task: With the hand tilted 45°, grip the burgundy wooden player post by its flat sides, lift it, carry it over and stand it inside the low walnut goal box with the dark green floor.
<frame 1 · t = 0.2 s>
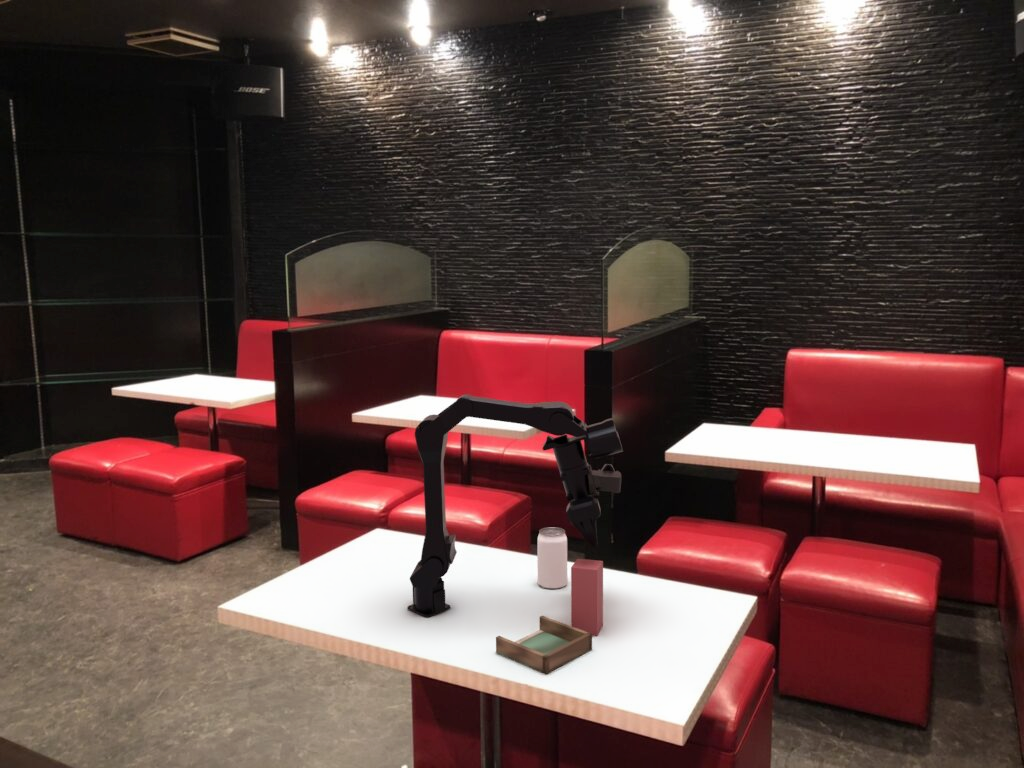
hand: (594, 538, 167), 15 cm above the table, tool tilted 15°, fingers open, 9 cm apart
goal box: (544, 651, 153), on the table
player post: (587, 629, 162), on the table
can: (552, 584, 185), on the table
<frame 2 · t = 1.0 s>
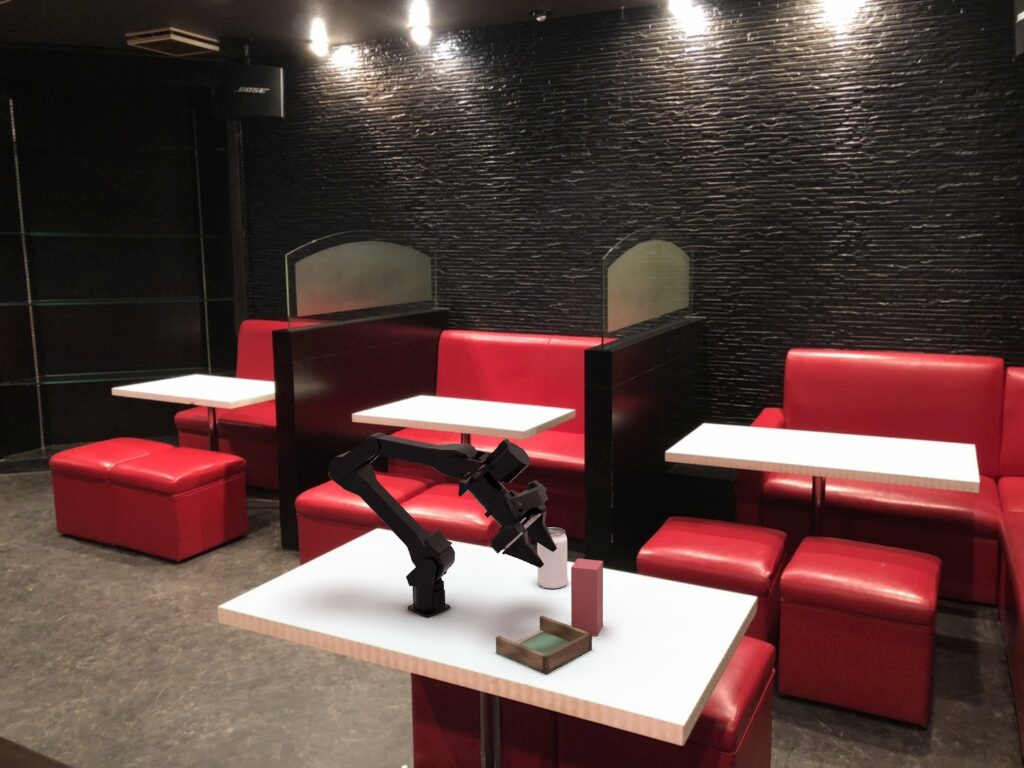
hand: (548, 558, 162), 13 cm above the table, tool tilted 45°, fingers open, 9 cm apart
nothing on the table moved.
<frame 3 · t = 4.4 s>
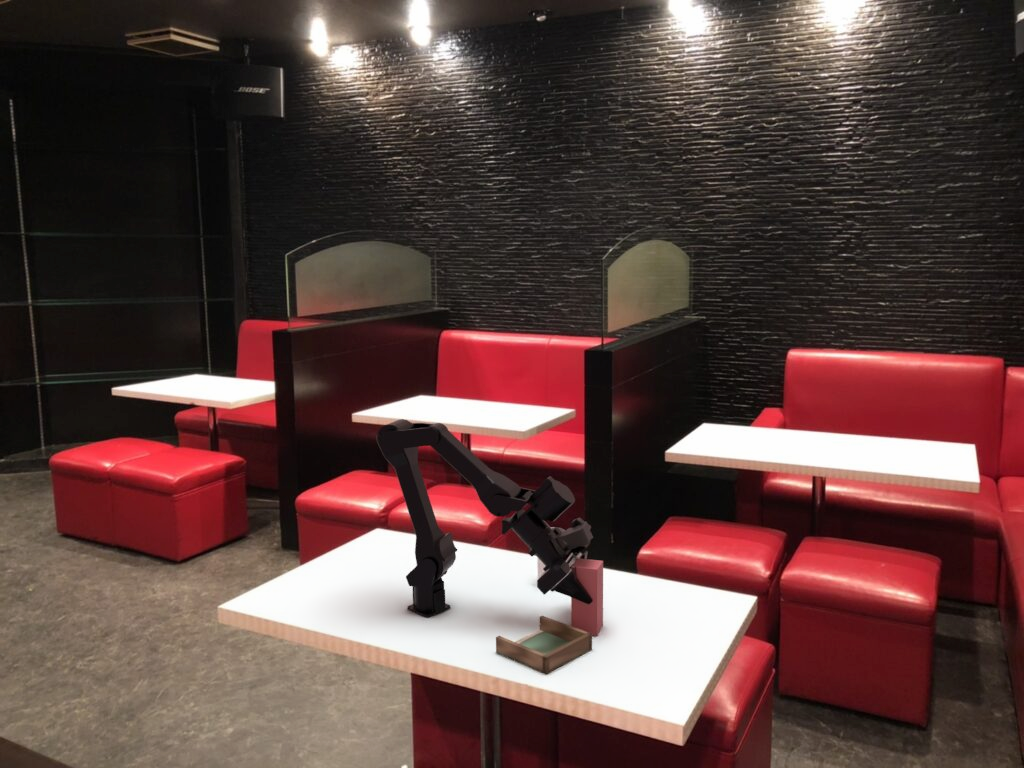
hand: (594, 597, 160), 7 cm above the table, tool tilted 45°, fingers closed on player post, 5 cm apart
player post: (587, 629, 162), on the table, touching gripper
everything else where it was.
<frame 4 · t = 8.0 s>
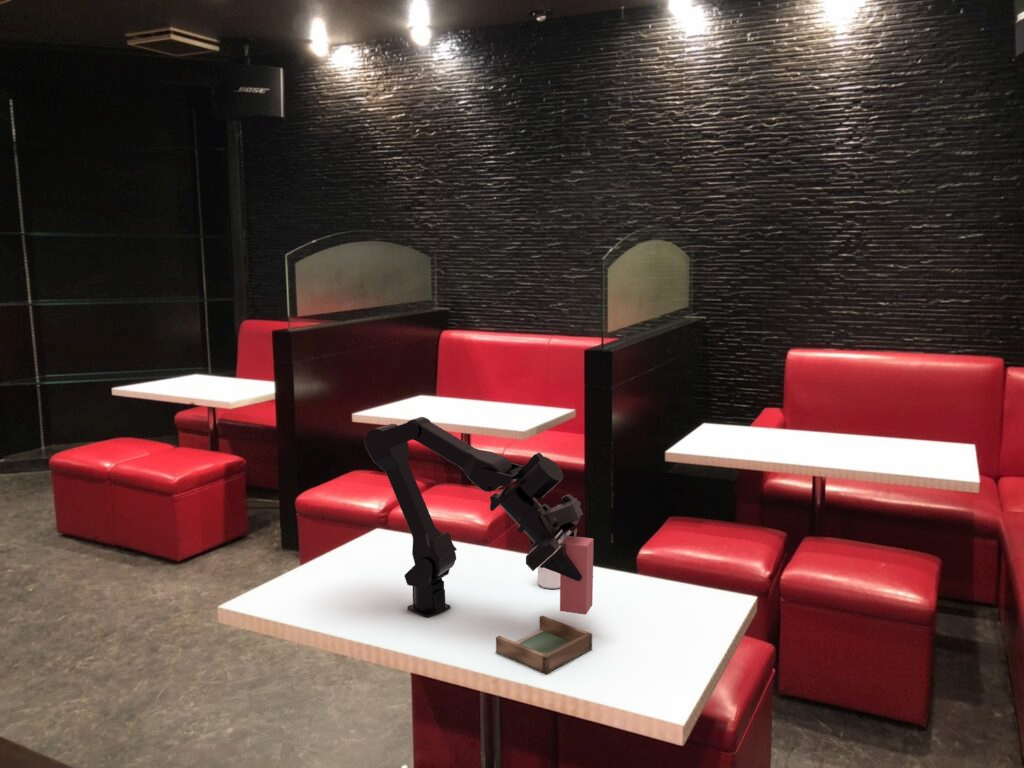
hand: (584, 574, 157), 12 cm above the table, tool tilted 45°, fingers closed on player post, 5 cm apart
player post: (576, 608, 159), point 5 cm above the table, touching gripper
everything else where it was.
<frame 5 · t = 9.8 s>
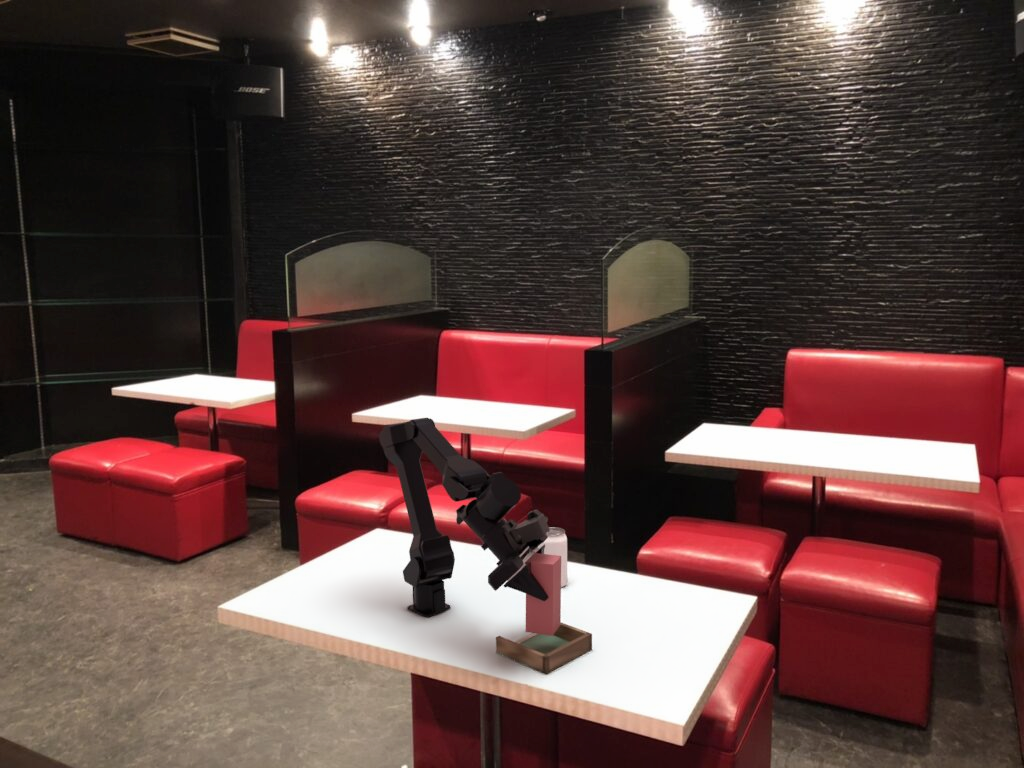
hand: (550, 593, 151), 11 cm above the table, tool tilted 45°, fingers closed on player post, 5 cm apart
player post: (543, 628, 152), point 4 cm above the table, touching gripper
everything else where it was.
when the fingers open (8 cm above the table, at t = 11.4 s): player post stays where it is, resting on goal box.
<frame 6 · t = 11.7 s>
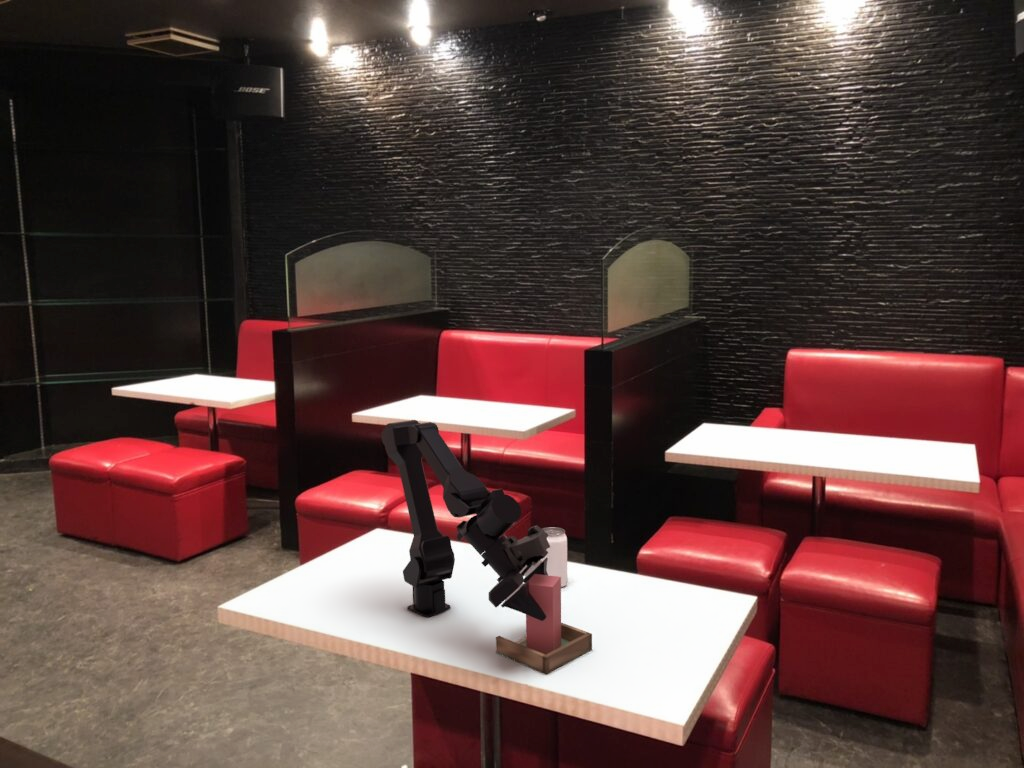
hand: (551, 609, 151), 8 cm above the table, tool tilted 45°, fingers open, 8 cm apart
player post: (544, 649, 153), resting on goal box
everything else where it was.
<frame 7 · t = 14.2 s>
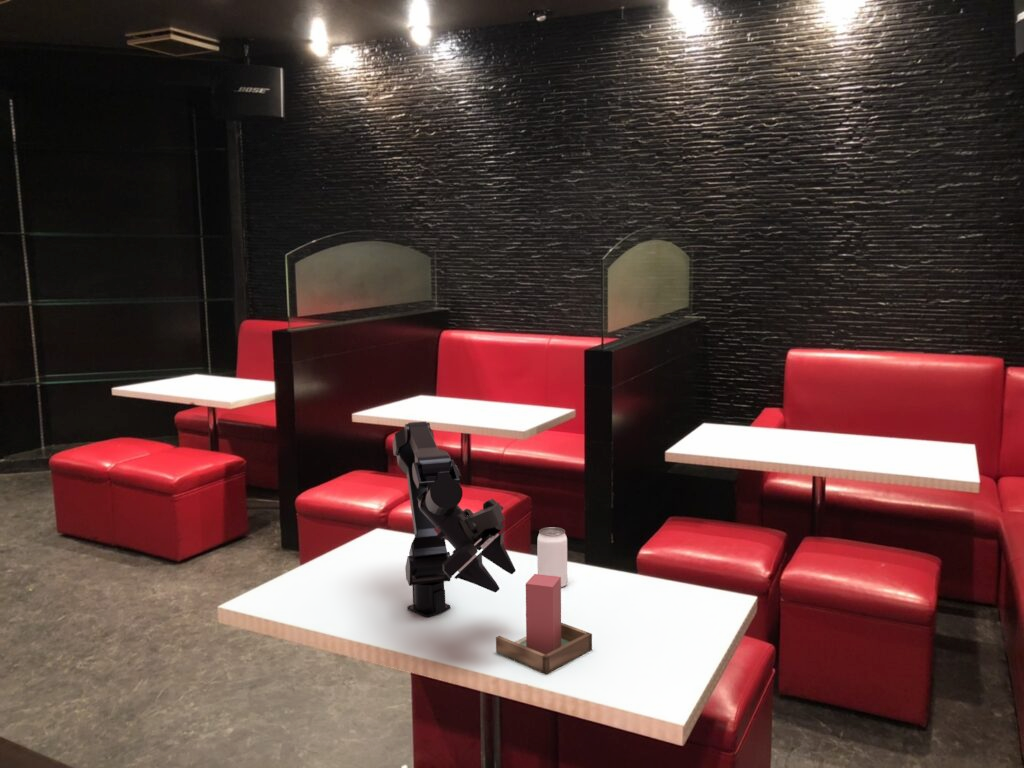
hand: (506, 581, 153), 12 cm above the table, tool tilted 45°, fingers open, 9 cm apart
nothing on the table moved.
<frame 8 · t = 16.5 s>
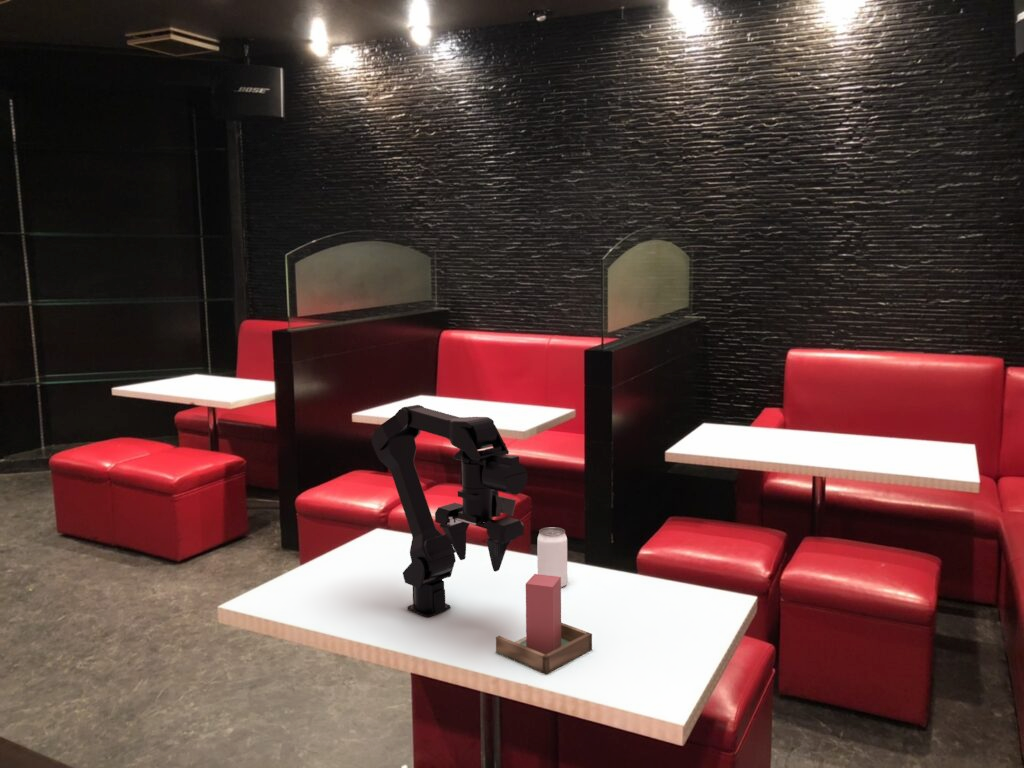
hand: (479, 565, 160), 13 cm above the table, tool pointing down, fingers open, 9 cm apart
nothing on the table moved.
at the end: player post inside the target area on the goal box (0.0 cm from its centre), point 0.4 cm above the goal box's base; player post tilted 0°; the gripper is holding nothing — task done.
